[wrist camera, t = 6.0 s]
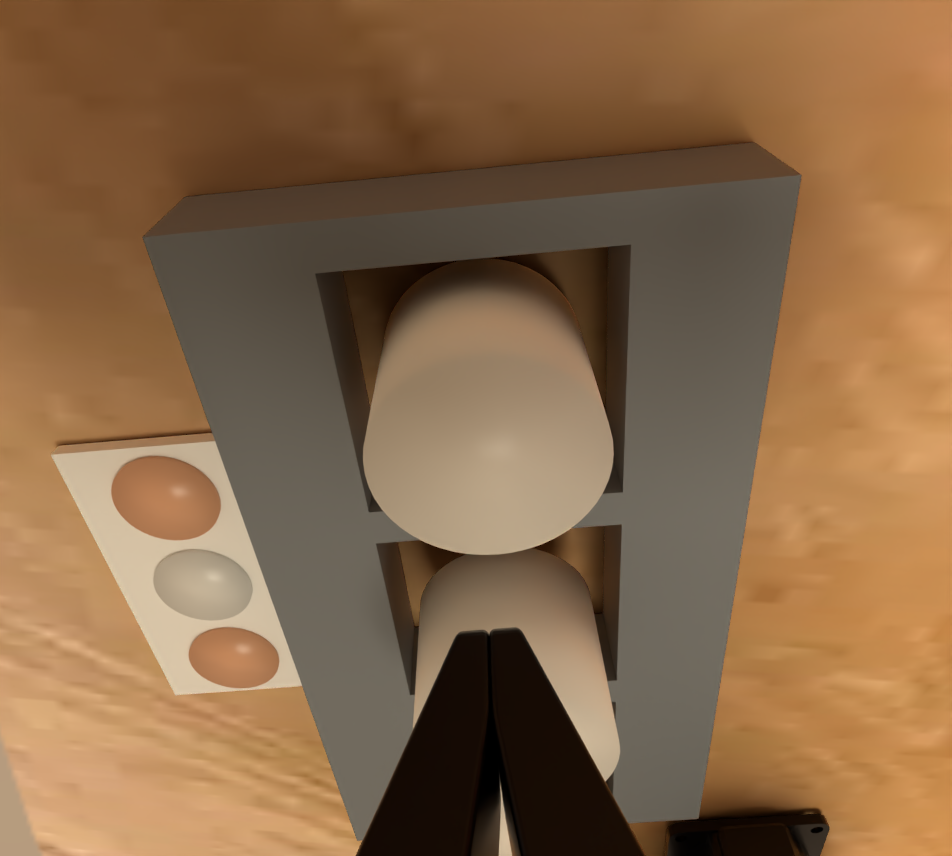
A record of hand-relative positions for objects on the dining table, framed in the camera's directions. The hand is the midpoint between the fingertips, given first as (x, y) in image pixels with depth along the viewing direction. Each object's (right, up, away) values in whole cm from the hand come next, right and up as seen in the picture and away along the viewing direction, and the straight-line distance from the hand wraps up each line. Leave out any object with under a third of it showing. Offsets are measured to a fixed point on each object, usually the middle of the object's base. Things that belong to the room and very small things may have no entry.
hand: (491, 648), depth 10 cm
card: (-8, -1, +12) cm, 15 cm away
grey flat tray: (+1, -1, +12) cm, 12 cm away
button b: (+1, -2, +10) cm, 10 cm away
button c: (0, +5, +7) cm, 9 cm away
